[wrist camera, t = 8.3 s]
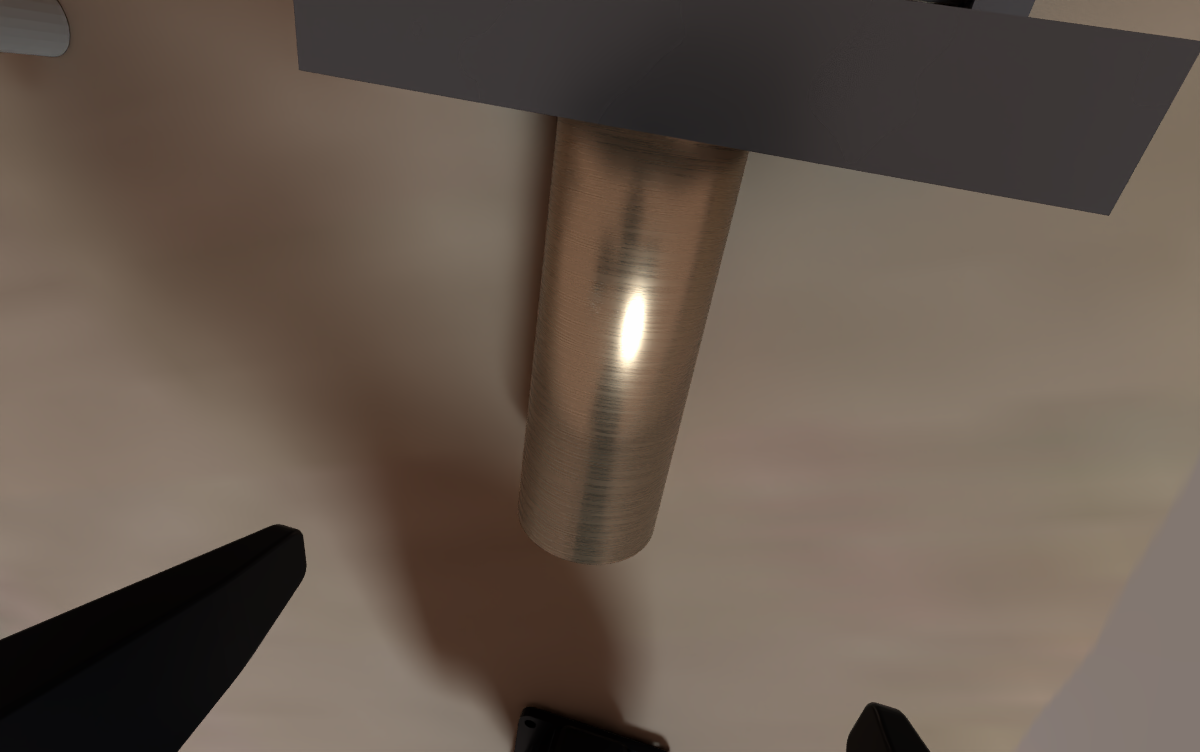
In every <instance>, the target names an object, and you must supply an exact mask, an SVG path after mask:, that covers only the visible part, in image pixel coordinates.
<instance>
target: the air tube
mask: <svg viewBox="0 0 1200 752" xmlns="http://www.w3.org/2000/svg"><path fill="white" fill-rule="evenodd" d="M748 153H749V151H746V150H741V149H735V148H729V147H724V146H718V145H713V144H707V143H702V142H696V141H690V140H685V139H679V138H674V137H668V136H663V135H657V134H652V133H646V132H640V131H635V130H629V129H624V128H618V127H613V126H607V125H602V124H596V123H590V122H585V121H579V120H574V119H568V118H563V117H558V121H557V130H556V140H555V150H554V160H553V169H552V179H551V189H550V199H549V208H548V218H547V228H546V238H545V248H544V257H543V267H542V277H541V287H540V296H539V306H538V316H537V326H536V335H535V345H534V355H533V365H532V374H531V384H530V394H529V404H528V414H527V423H526V433H525V443H524V453H523V462H522V472H521V482H520V492H519V501H518V517H519V521H520V524H521V526H522V528H523V530H524V531H525V533H526V534H527V535H528V537H529V538H530V539H531V540H532V541H533V542H534V543H535V544H537V545H538V546H539V547H541V548H542V549H543V550H545V551H547V552H548V553H550V554H552V555H554V556H557V557H559V558H562V559H565V560H568V561H571V562H576V563H581V564H609V563H615V562H619V561H622V560H625V559H627V558H630V557H631V556H633V555H635V554H637V553H638V552H639V551H641V550H642V549H643V548H644V547H645V546H646V545H647V543H648V542H649V541H650V539H651V536H652V534H653V531H654V527H655V523H656V519H657V515H658V511H659V507H660V503H661V499H662V495H663V491H664V487H665V483H666V479H667V475H668V471H669V467H670V463H671V459H672V455H673V451H674V447H675V443H676V439H677V435H678V431H679V427H680V423H681V419H682V415H683V411H684V407H685V403H686V399H687V395H688V392H689V388H690V384H691V380H692V376H693V372H694V368H695V364H696V360H697V356H698V352H699V348H700V344H701V340H702V336H703V332H704V328H705V324H706V320H707V316H708V312H709V308H710V304H711V300H712V296H713V292H714V288H715V284H716V280H717V276H718V272H719V268H720V264H721V260H722V256H723V252H724V248H725V245H726V241H727V237H728V233H729V229H730V225H731V221H732V217H733V213H734V209H735V205H736V201H737V197H738V193H739V189H740V185H741V181H742V177H743V173H744V169H745V165H746V161H747V157H748Z"/></svg>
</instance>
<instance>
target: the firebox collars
mask: <svg viewBox="0 0 1200 752" xmlns="http://www.w3.org/2000/svg"><path fill="white" fill-rule="evenodd" d="M293 1H294V14H295V26H296V39H297V51H298V64H299V70H301V71H307V72H312V73H318V74H324V75H329V76H335V77H340V78H346V79H351V80H357V81H362V82H368V83H374V84H379V85H385V86H390V87H396V88H401V89H407V90H412V91H418V92H424V93H429V94H435V95H440V96H446V97H451V98H457V99H463V100H468V101H474V102H479V103H485V104H490V105H496V106H501V107H507V108H513V109H518V110H524V111H529V112H535V113H540V114H546V115H551V116H557V117H563V118H568V119H574V120H579V121H585V122H590V123H596V124H602V125H607V126H613V127H618V128H624V129H629V130H635V131H640V132H646V133H652V134H657V135H663V136H668V137H674V138H679V139H685V140H690V141H696V142H702V143H707V144H713V145H718V146H724V147H729V148H735V149H741V150H746V151H752V152H757V153H763V154H768V155H774V156H779V157H785V158H791V159H796V160H802V161H807V162H813V163H818V164H824V165H829V166H835V167H841V168H846V169H852V170H857V171H863V172H868V173H874V174H880V175H885V176H891V177H896V178H902V179H907V180H913V181H918V182H924V183H930V184H935V185H941V186H946V187H952V188H957V189H963V190H968V191H974V192H980V193H985V194H991V195H996V196H1002V197H1007V198H1013V199H1019V200H1024V201H1030V202H1035V203H1041V204H1046V205H1052V206H1057V207H1063V208H1069V209H1074V210H1080V211H1085V212H1091V213H1096V214H1102V215H1107V216H1109V215H1110V213H1111V211H1112V209H1113V208H1114V206H1115V204H1116V202H1117V200H1118V199H1119V197H1120V195H1121V193H1122V191H1123V190H1124V188H1125V186H1126V184H1127V182H1128V181H1129V179H1130V177H1131V175H1132V173H1133V172H1134V170H1135V168H1136V166H1137V164H1138V163H1139V161H1140V159H1141V157H1142V155H1143V154H1144V152H1145V150H1146V148H1147V146H1148V145H1149V143H1150V141H1151V139H1152V137H1153V136H1154V134H1155V132H1156V130H1157V128H1158V127H1159V125H1160V123H1161V121H1162V119H1163V118H1164V116H1165V114H1166V112H1167V110H1168V109H1169V107H1170V105H1171V103H1172V101H1173V100H1174V98H1175V96H1176V94H1177V92H1178V91H1179V89H1180V87H1181V85H1182V83H1183V82H1184V80H1185V78H1186V76H1187V74H1188V73H1189V71H1190V69H1191V67H1192V65H1193V64H1194V62H1195V60H1196V58H1197V56H1198V55H1199V53H1200V41H1196V40H1189V39H1182V38H1175V37H1167V36H1160V35H1153V34H1146V33H1139V32H1131V31H1124V30H1117V29H1110V28H1103V27H1096V26H1088V25H1081V24H1074V23H1067V22H1060V21H1052V20H1045V19H1038V18H1031V17H1028V16H1029V13H1030V11H1031V9H1032V6H1033V4H1034V2H1035V0H922V1H929V2H936V3H943V4H951V5H958V6H957V7H952V6H945V5H937V4H930V3H923V2H916V1H909V0H293Z"/></svg>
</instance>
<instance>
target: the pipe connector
mask: <svg viewBox="0 0 1200 752" xmlns="http://www.w3.org/2000/svg"><path fill="white" fill-rule="evenodd" d="M69 38H70V33H69V26H68V22H67V19H66V16H65V14H64V12H63V10H62V8H61V6H60V4H59V3H58V2H57V0H0V52H7V53H18V54H28V55H39V56H50V57H57V56H60V55H62V54H63V53H64V52H65V51H66V50H67V47H68V45H69Z"/></svg>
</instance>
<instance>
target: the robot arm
mask: <svg viewBox="0 0 1200 752" xmlns="http://www.w3.org/2000/svg"><path fill="white" fill-rule="evenodd" d="M306 567H307V565H306V556H305V547H304V539H303V534H302V533H301V531H300V530H298V529H295V528H291V527H288V526H285V525H280V524H276V525H272V526H269V527H267V528H265V529H262V530H260V531H257V532H255V533H253V534H250V535H248V536H246V537H243V538H241V539H238V540H236V541H234V542H231V543H229V544H227V545H224V546H222V547H219V548H217V549H215V550H212V551H210V552H208V553H205V554H203V555H200V556H198V557H196V558H193V559H191V560H189V561H186V562H184V563H181V564H179V565H177V566H174V567H172V568H170V569H167V570H165V571H162V572H160V573H158V574H155V575H153V576H151V577H148V578H146V579H143V580H141V581H139V582H136V583H134V584H132V585H129V586H127V587H124V588H122V589H120V590H117V591H115V592H113V593H110V594H108V595H105V596H103V597H101V598H98V599H96V600H94V601H91V602H89V603H86V604H84V605H82V606H79V607H77V608H75V609H72V610H70V611H67V612H65V613H63V614H60V615H58V616H56V617H53V618H51V619H48V620H46V621H44V622H41V623H39V624H37V625H34V626H32V627H29V628H27V629H25V630H22V631H20V632H18V633H15V634H13V635H10V636H8V637H6V638H3V639H1V640H0V752H178V751H179V749H180V748H181V747H182V746H183V744H184V743H185V742H186V741H187V739H188V738H189V737H190V736H191V734H192V733H193V732H194V730H195V729H196V728H197V727H198V725H199V724H200V723H201V722H202V720H203V719H204V718H205V717H206V715H207V714H208V713H209V712H210V710H211V709H212V708H213V707H214V705H215V704H216V703H217V702H218V700H219V699H220V698H221V697H222V695H223V694H224V693H225V692H226V690H227V689H228V688H229V687H230V685H231V684H232V683H233V682H234V680H235V679H236V678H237V676H238V675H239V674H240V672H241V671H242V670H243V669H244V667H245V666H246V664H247V663H248V661H249V660H250V659H251V657H252V656H253V654H254V653H255V651H256V650H257V648H258V647H259V645H260V644H261V642H262V641H263V639H264V638H265V636H266V635H267V633H268V632H269V630H270V629H271V627H272V626H273V624H274V622H275V621H276V619H277V618H278V616H279V615H280V613H281V612H282V610H283V609H284V607H285V606H286V604H287V603H288V601H289V600H290V598H291V597H292V595H293V594H294V592H295V591H296V589H297V588H298V586H299V585H300V583H301V581H302V580H303V578H304V575H305V572H306ZM514 752H666V751H664V750H662V749H659V748H656V747H653V746H650V745H647V744H644V743H641V742H638V741H634V740H631V739H628V738H625V737H622V736H619V735H616V734H613V733H610V732H607V731H604V730H601V729H598V728H595V727H592V726H589V725H586V724H583V723H579V722H576V721H573V720H570V719H567V718H564V717H561V716H558V715H555V714H552V713H549V712H546V711H543V710H540V709H537V708H533V707H526V708H524V709H523V711H522V713H521V716H520V719H519V724H518V731H517V738H516V745H515V751H514ZM846 752H930V751H929V749H928V748H927V746H926V745H925V744H924V742H923V741H922V739H921V738H920V736H919V735H918V733H917V732H916V731H915V729H914V728H913V726H912V725H911V723H910V722H909V720H908V719H907V718H906V716H905V715H904V714H903V713H902V712H901V711H899V710H897V709H895V708H892V707H889V706H885V705H882V704H879V703H875V702H871V703H869V704H867V706H866V707H865V708H864V710H863V712H862V713H861V715H860V717H859V718H858V720H857V722H856V723H855V725H854V727H853V728H852V730H851V732H850V734H849V736H848V739H847V746H846Z"/></svg>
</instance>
